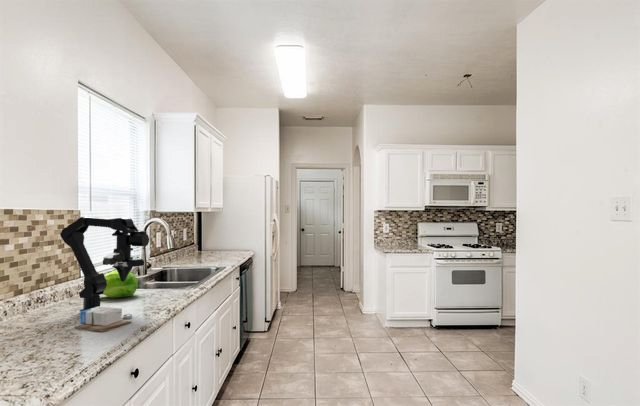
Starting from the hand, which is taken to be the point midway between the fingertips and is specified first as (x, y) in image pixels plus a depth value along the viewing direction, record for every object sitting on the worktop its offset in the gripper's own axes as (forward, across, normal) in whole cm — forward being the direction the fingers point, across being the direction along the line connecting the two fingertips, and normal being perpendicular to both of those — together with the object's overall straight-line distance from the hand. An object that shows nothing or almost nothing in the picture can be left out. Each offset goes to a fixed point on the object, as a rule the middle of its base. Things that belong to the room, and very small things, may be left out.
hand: (123, 281), depth 165 cm
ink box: (+10, +3, -18) cm, 20 cm away
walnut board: (+13, +11, -18) cm, 25 cm away
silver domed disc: (+13, +11, -7) cm, 19 cm away
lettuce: (+13, -27, +18) cm, 35 cm away
